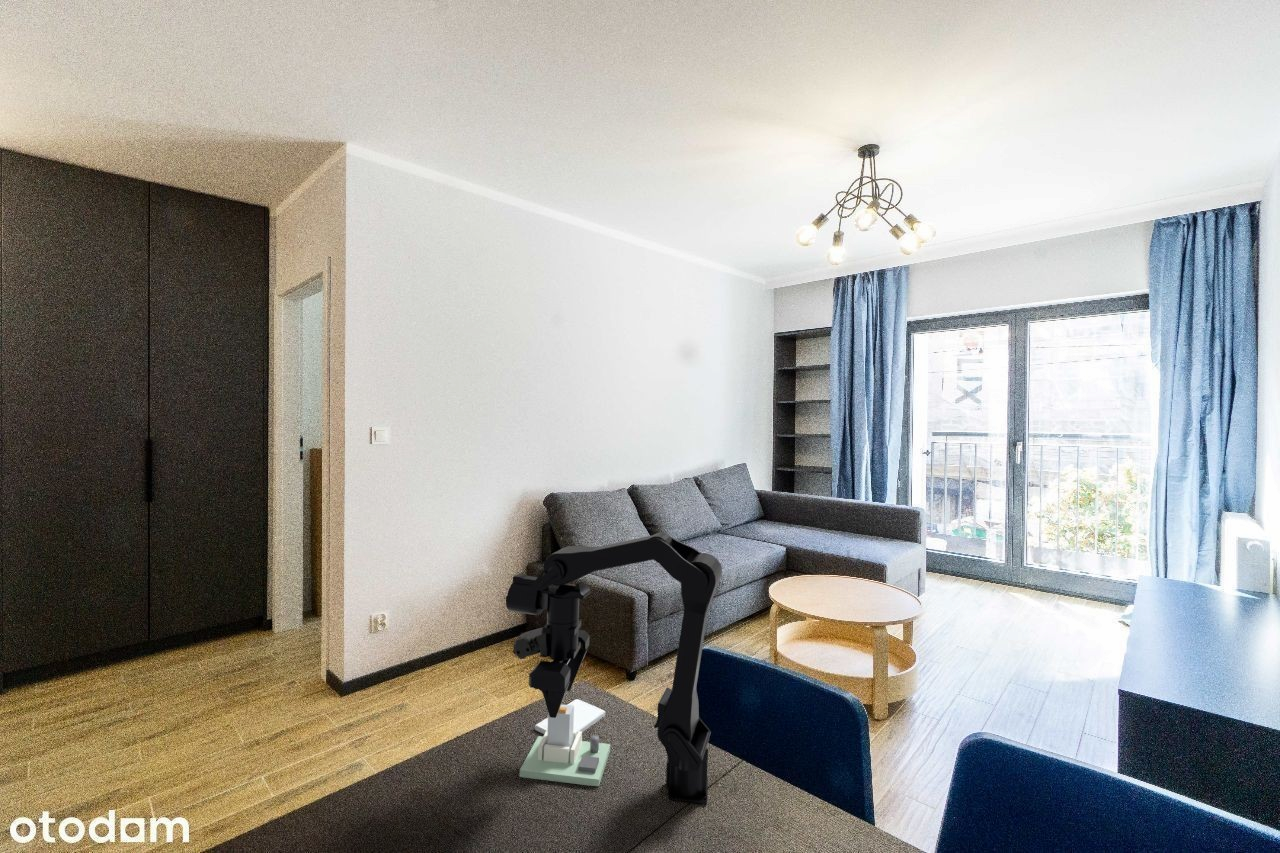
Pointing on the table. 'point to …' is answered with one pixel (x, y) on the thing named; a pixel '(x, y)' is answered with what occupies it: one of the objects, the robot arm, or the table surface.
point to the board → (567, 761)
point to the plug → (561, 727)
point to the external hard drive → (578, 717)
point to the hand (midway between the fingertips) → (560, 703)
